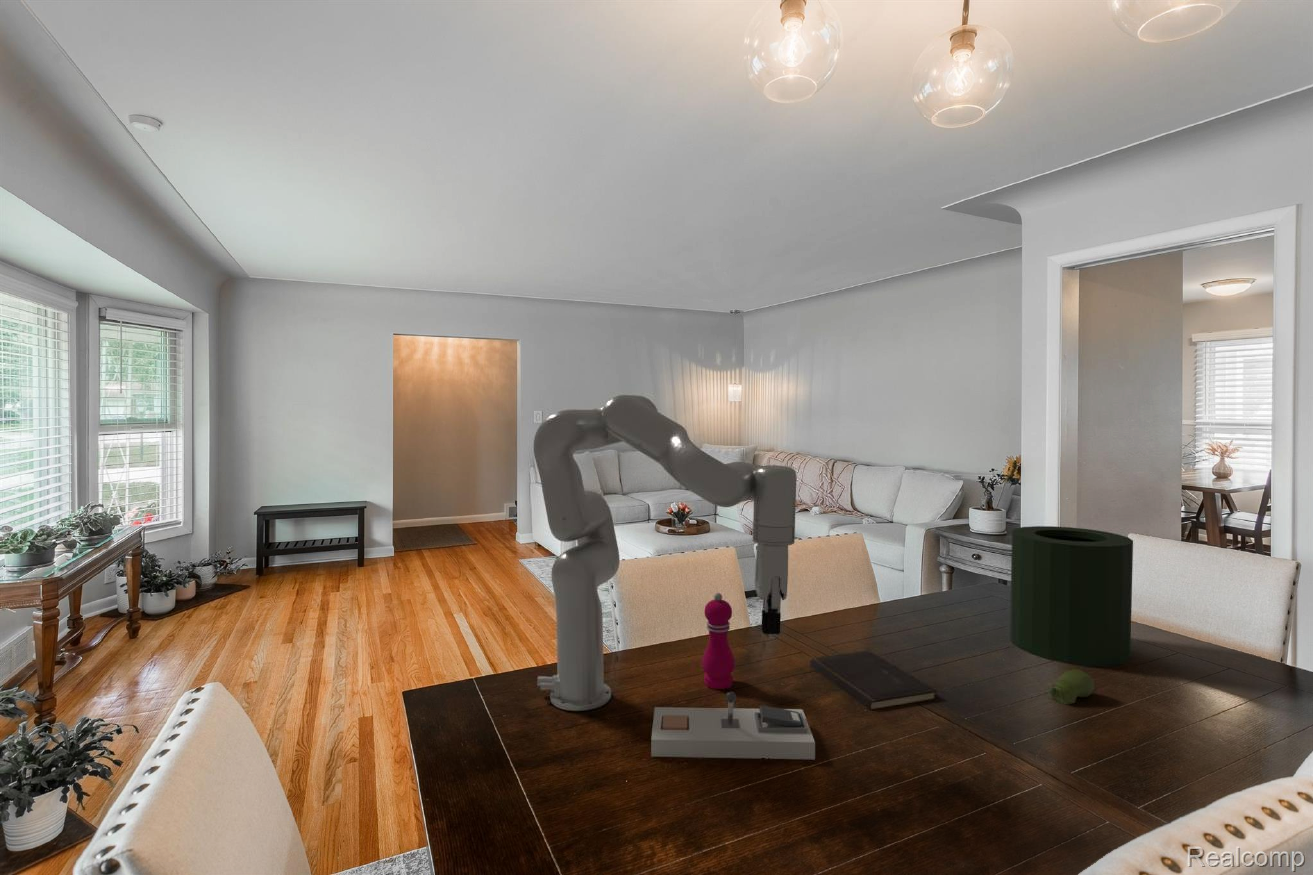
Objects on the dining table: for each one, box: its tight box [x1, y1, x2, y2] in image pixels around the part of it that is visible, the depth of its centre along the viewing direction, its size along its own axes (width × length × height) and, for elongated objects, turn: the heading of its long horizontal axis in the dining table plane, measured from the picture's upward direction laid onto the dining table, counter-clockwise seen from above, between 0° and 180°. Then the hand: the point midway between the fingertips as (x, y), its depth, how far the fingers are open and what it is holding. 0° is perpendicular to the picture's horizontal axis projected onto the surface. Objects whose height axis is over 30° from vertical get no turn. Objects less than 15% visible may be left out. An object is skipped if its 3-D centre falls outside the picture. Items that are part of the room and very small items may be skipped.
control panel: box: [650, 706, 816, 760], centre depth 116 cm, size 28×12×4 cm, turn 87°
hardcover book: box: [809, 650, 938, 711], centre depth 140 cm, size 16×23×2 cm
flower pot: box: [1009, 525, 1134, 668], centre depth 159 cm, size 25×25×28 cm
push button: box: [663, 715, 687, 730], centre depth 116 cm, size 4×4×3 cm
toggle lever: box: [725, 691, 737, 724], centre depth 114 cm, size 2×2×7 cm
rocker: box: [758, 704, 802, 727], centre depth 115 cm, size 7×4×1 cm, turn 88°
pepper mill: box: [701, 592, 736, 690], centre depth 139 cm, size 7×7×20 cm
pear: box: [1049, 669, 1095, 705], centre depth 132 cm, size 6×5×10 cm
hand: (770, 632), depth 117 cm, fingers closed
